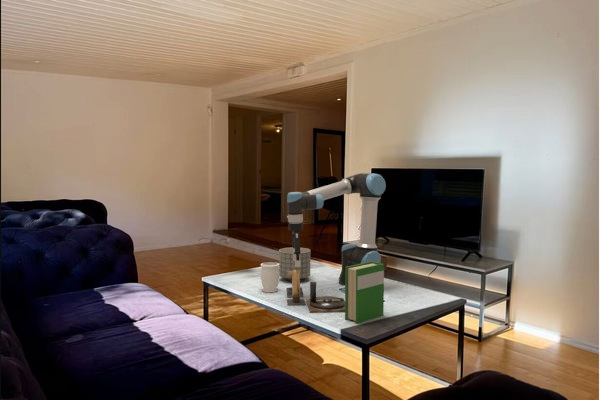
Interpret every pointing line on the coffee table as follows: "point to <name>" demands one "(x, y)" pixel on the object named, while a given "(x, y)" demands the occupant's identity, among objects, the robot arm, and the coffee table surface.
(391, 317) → the coffee table surface
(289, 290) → the eye block
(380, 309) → the hardback book
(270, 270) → the jar
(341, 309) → the wheel base
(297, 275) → the hook peg
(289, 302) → the pad
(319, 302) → the handwheel
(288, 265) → the planter
